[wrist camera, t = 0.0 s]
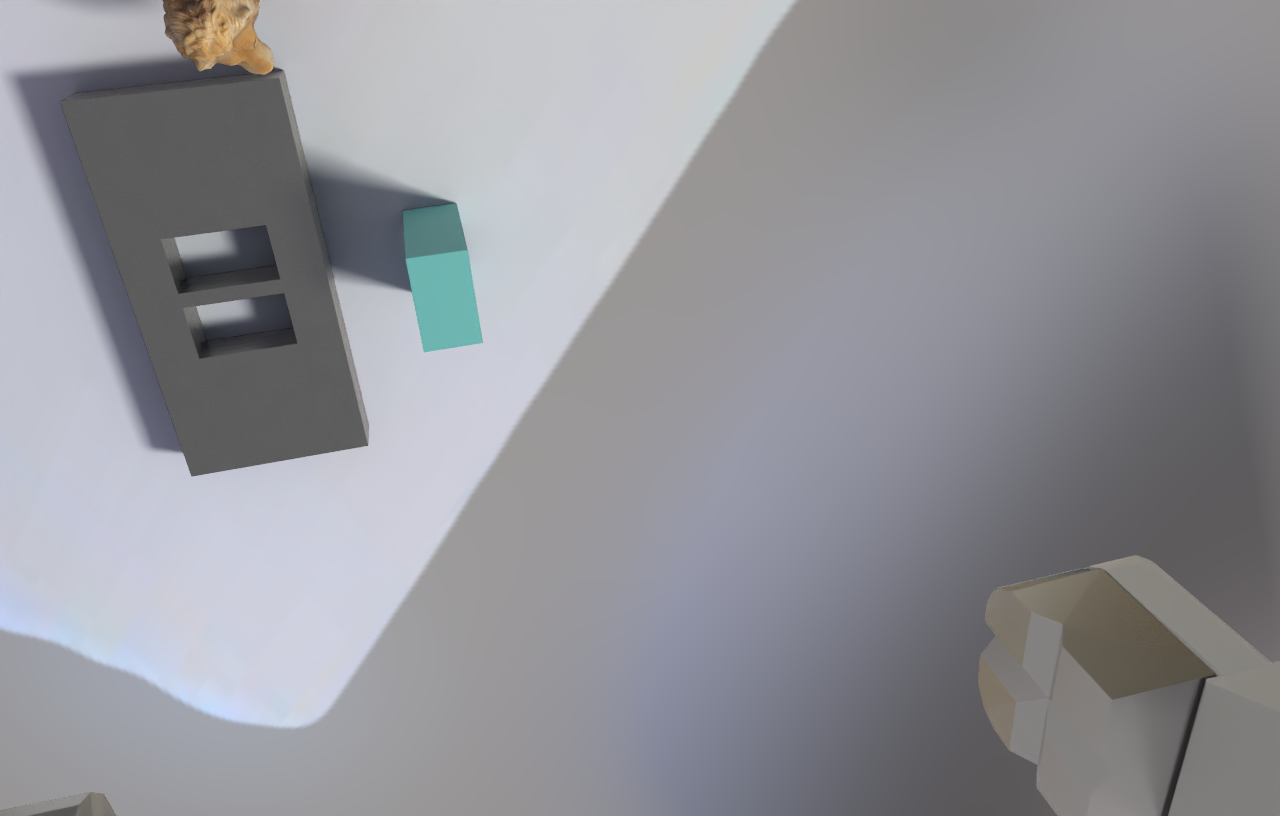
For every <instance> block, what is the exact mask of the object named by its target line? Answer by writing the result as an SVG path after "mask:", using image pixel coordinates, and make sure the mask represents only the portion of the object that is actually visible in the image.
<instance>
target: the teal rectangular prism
mask: <svg viewBox="0 0 1280 816" xmlns="http://www.w3.org/2000/svg"><path fill="white" fill-rule="evenodd" d="M403 226H404V243H405V259H406V264H407V269H408V274H409V279H410V285H411V290H412V295H413V300H414V305H415V310H416V315H417V320H418V325H419V330H420V335H421V340H422V345H423V350H424V352H429V351H435V350H441V349H447V348H454V347H460V346H466V345H472V344H479V343H483V340H482V334H481V328H480V322H479V316H478V310H477V304H476V298H475V292H474V286H473V280H472V274H471V268H470V262H469V256H468V250H467V246H466V241H465V237H464V233H463V229H462V225H461V220H460V216H459V212H458V208H457V204H456V203H454V204H446V205H439V206H432V207H424V208H417V209H410V210H403Z"/></svg>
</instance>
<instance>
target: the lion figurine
mask: <svg viewBox="0 0 1280 816" xmlns="http://www.w3.org/2000/svg"><path fill="white" fill-rule="evenodd" d="M163 2H164V4H163V8H164V10H165V12H166V14H165V15H164V21H165V26H166V30H165V34H166V36H167V37H168V38H170V39H172V41H173V43H174V44H175V46H176V48H177V50H178V52H180V53H181V55H182V57H183V58H189V59H191V60H192V61H194V62H195V65H196V68H197V69H198V71H203V70H204V69H211V68H212V67H213V66H214V65H215V64H216V63H221V64H225V65H229V66H233V65H240V66H242V67H243V68H244V69H245V70H247V71H248V72H250V73H253V74H262V75H264V74H267V73H269V72H270V71H272V69H273V67H274V61H273V54H272V51H271V50H270V48H269V47H268V46H267V45H266V44H264V43H263V42H261V41H260V40H259V39H258V37H257V35H256V32H255V30H254V27H253V24H254V23H255V21H256V18H257V16H258V10H259V5H258V3H259V0H163Z"/></svg>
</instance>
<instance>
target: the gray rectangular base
mask: <svg viewBox="0 0 1280 816" xmlns="http://www.w3.org/2000/svg"><path fill="white" fill-rule="evenodd" d="M60 103H61V106H62V109H63V111H64V114H65V117H66V120H67V123H68V126H69V129H70V131H71V134H72V137H73V140H74V143H75V146H76V149H77V151H78V154H79V157H80V160H81V163H82V166H83V168H84V171H85V174H86V177H87V180H88V183H89V186H90V188H91V191H92V194H93V197H94V200H95V203H96V206H97V208H98V211H99V214H100V217H101V220H102V223H103V225H104V228H105V231H106V234H107V237H108V240H109V243H110V245H111V248H112V251H113V254H114V257H115V260H116V263H117V265H118V268H119V271H120V274H121V277H122V280H123V282H124V285H125V288H126V291H127V294H128V297H129V300H130V302H131V305H132V308H133V311H134V314H135V317H136V320H137V322H138V325H139V328H140V331H141V334H142V337H143V339H144V342H145V345H146V348H147V351H148V354H149V357H150V359H151V362H152V365H153V368H154V371H155V374H156V377H157V379H158V382H159V385H160V388H161V391H162V394H163V396H164V399H165V402H166V405H167V408H168V411H169V414H170V416H171V419H172V422H173V425H174V428H175V431H176V434H177V436H178V439H179V442H180V445H181V448H182V451H183V453H184V456H185V459H186V462H187V465H188V468H189V471H190V473H191V476H197V475H203V474H209V473H214V472H220V471H226V470H231V469H237V468H243V467H249V466H254V465H260V464H266V463H272V462H277V461H283V460H289V459H294V458H300V457H306V456H312V455H317V454H323V453H329V452H334V451H340V450H346V449H352V448H357V447H363V446H368V437H369V424H368V420H367V416H366V412H365V408H364V404H363V399H362V395H361V391H360V387H359V383H358V378H357V374H356V370H355V366H354V362H353V357H352V353H351V349H350V345H349V341H348V337H347V332H346V328H345V324H344V320H343V316H342V311H341V307H340V303H339V299H338V295H337V291H336V286H335V282H334V278H333V274H332V270H331V265H330V261H329V257H328V253H327V249H326V244H325V240H324V236H323V232H322V228H321V224H320V219H319V215H318V211H317V207H316V203H315V198H314V194H313V190H312V186H311V182H310V178H309V173H308V169H307V165H306V161H305V157H304V152H303V148H302V144H301V140H300V136H299V131H298V127H297V123H296V119H295V115H294V111H293V106H292V102H291V98H290V94H289V90H288V85H287V81H286V77H285V73H284V70H283V71H274V72H269V73H267V74H264V75H262V74H246V75H237V76H228V77H219V78H209V79H200V80H191V81H182V82H173V83H164V84H154V85H145V86H136V87H127V88H118V89H109V90H99V91H90V92H81V93H74V94H73V95H71V96H70V97H68V98H66V99H65V100H63V101H61V102H60ZM263 225H266V227H267V231H268V235H269V238H270V242H271V246H272V250H273V253H274V257H275V261H276V265H275V266H268V267H261V268H254V269H247V270H239V271H232V272H225V273H218V274H211V275H204V276H197V277H190V278H187V277H186V274H185V271H184V268H183V265H182V261H181V258H180V255H179V252H178V249H177V246H176V243H175V239H174V237H181V236H188V235H196V234H203V233H211V232H218V231H226V230H233V229H240V228H248V227H255V226H263ZM282 293H284V295H285V298H286V302H287V306H288V310H289V313H290V317H291V321H292V325H293V328H288V329H281V330H275V331H268V332H262V333H255V334H249V335H242V336H235V337H229V338H222V339H216V340H209V341H207V340H206V337H205V334H204V331H203V328H202V325H201V321H200V318H199V315H198V312H197V309H196V306H200V305H207V304H213V303H220V302H227V301H234V300H241V299H248V298H254V297H261V296H268V295H275V294H282Z"/></svg>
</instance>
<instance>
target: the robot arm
mask: <svg viewBox="0 0 1280 816" xmlns="http://www.w3.org/2000/svg"><path fill="white" fill-rule="evenodd" d="M985 622H986V623H987V624H988V625H989V627H990V628H991V629H992V630H993V632H994V633H995V634H996V636H995V638H994V639H993V640H992V642H991V643H990V644H989V645H988V647H987V648H986V649H985V651H984V652H983V653H982V654H981V656H980V666H979V678H978V683H979V687H980V691H981V696H982V700H983V704H984V708H985V711H986V713H987V715H988V717H989V719H990V721H991V723H992V725H993V728H994V729H995V731H996V732H997V734H998V735H999V736H1000V738H1001V740H1002V741H1003V742H1004V744H1005V745H1006V746H1007V748H1008V749H1009V750H1010V751H1012V752H1013V753H1015V754H1017V755H1019V756H1021V757H1023V758H1025V759H1027V760H1029V761H1031V762H1033V763H1035V764H1037V788H1038V790H1039V791H1040V793H1041V794H1042V795H1043V797H1044V798H1045V799H1046V801H1047V802H1048V803H1049V805H1050V806H1051V807H1052V809H1053V810H1054V811H1055V813H1056V814H1057V815H1058V816H1280V661H1278V662H1274V663H1271V662H1270V661H1269V660H1267V659H1266V658H1265V657H1264V656H1263V655H1262V654H1261V653H1259V652H1258V651H1257V650H1256V649H1255V648H1253V647H1252V646H1251V645H1250V644H1249V643H1248V642H1246V641H1245V640H1244V639H1243V638H1242V637H1241V636H1239V635H1238V634H1237V633H1236V632H1235V631H1233V630H1232V629H1231V628H1230V627H1229V626H1228V625H1226V624H1225V623H1224V622H1223V621H1222V620H1220V619H1219V618H1218V617H1217V616H1216V615H1215V614H1214V613H1212V612H1211V611H1210V610H1209V609H1207V608H1206V607H1205V606H1204V605H1203V604H1202V603H1201V602H1199V601H1198V600H1197V599H1196V598H1194V596H1192V595H1191V594H1190V593H1189V592H1187V591H1186V590H1185V589H1184V588H1183V587H1182V586H1180V585H1179V584H1178V583H1177V582H1176V581H1175V580H1174V579H1172V578H1171V577H1170V576H1169V575H1168V574H1166V573H1165V572H1164V571H1163V570H1162V569H1161V568H1159V567H1158V566H1157V565H1156V564H1155V563H1153V562H1152V561H1150V560H1148V559H1145V558H1142V557H1140V556H1137V555H1135V556H1131V557H1126V558H1122V559H1118V560H1114V561H1110V562H1105V563H1102V564H1097V565H1093V566H1090V567H1088V568H1082V569H1077V570H1073V571H1068V572H1064V573H1060V574H1055V575H1051V576H1047V577H1043V578H1038V579H1034V580H1030V581H1026V582H1021V583H1017V584H1013V585H1009V586H1005V587H1000V588H996V589H995V590H994V592H993V593H992V595H991V596H990V598H989V599H988V602H987V609H986V616H985ZM0 816H116V814H115V812H114V810H113V809H112V807H111V805H110V803H109V801H108V800H107V798H106V796H105V794H103V793H94V792H89V793H84V794H79V795H74V796H69V797H64V798H59V799H54V800H49V801H44V802H39V803H34V804H29V805H24V806H19V807H14V808H9V809H4V810H0Z"/></svg>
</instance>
